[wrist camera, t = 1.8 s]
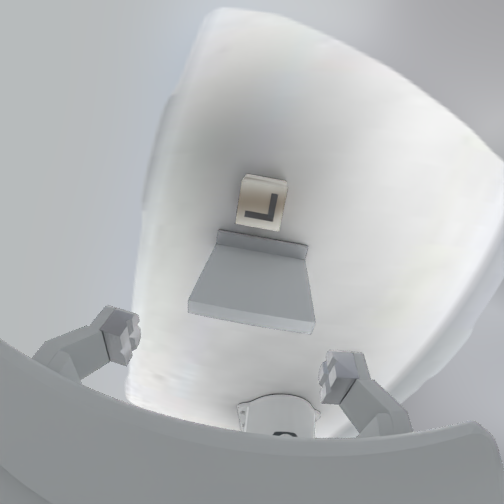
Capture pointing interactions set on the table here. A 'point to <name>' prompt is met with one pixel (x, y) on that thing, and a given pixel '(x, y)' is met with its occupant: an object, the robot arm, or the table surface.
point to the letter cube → (261, 202)
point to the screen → (255, 284)
